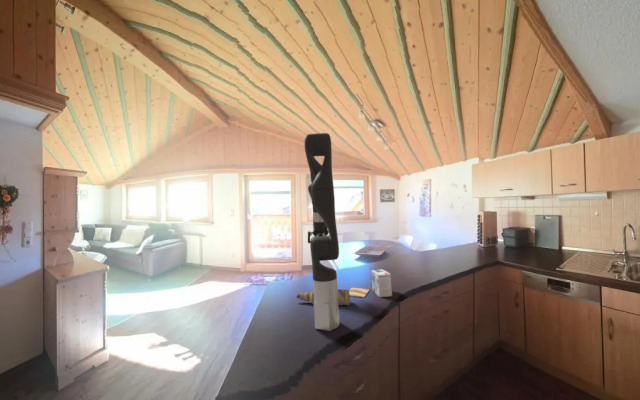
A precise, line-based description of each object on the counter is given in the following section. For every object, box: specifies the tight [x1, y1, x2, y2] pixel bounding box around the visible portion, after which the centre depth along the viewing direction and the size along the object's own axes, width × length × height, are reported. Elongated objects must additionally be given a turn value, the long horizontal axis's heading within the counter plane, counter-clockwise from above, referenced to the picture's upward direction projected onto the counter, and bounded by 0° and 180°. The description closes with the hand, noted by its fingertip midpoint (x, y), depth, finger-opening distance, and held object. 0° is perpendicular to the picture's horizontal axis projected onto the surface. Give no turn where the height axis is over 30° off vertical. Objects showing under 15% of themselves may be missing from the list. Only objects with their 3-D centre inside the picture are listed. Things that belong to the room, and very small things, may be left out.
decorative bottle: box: [296, 288, 351, 306], centre depth 111 cm, size 26×8×7 cm, turn 75°
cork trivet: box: [348, 287, 371, 299], centre depth 122 cm, size 12×10×1 cm
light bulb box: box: [370, 268, 393, 298], centre depth 120 cm, size 11×7×11 cm, turn 6°
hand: (321, 250), depth 126 cm, fingers open, 8 cm apart
